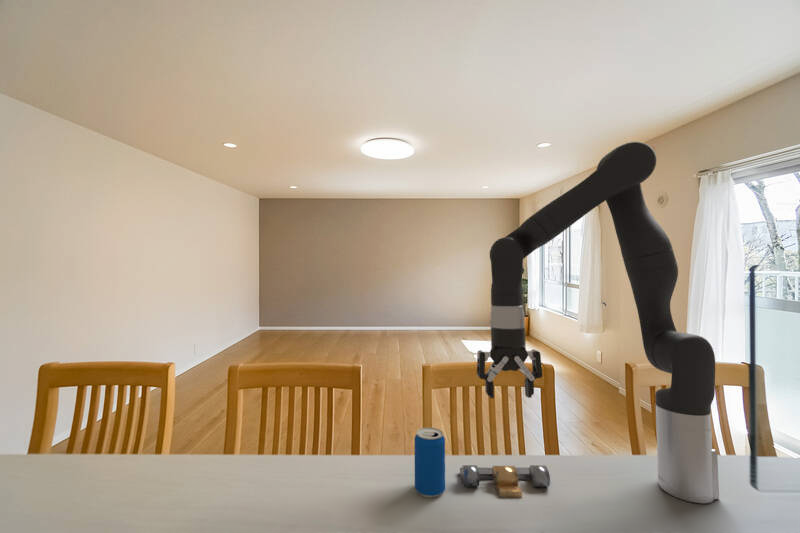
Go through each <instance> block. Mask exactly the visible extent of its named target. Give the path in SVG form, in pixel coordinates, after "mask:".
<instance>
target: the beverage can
mask: <svg viewBox="0 0 800 533" xmlns="http://www.w3.org/2000/svg"><path fill="white" fill-rule="evenodd" d="M414 489H415V491H417V493H419V495H421V496H422V497H425V498H430V499H431V498H437V497H439V496H440V495H441V494H444V492H445V491H446V439H445V436H444V432H443V431H442V430H441V429H440V428H439V429H438V428H436V427H421V428H420V429H419V428H418V430H417V431H416V435H415V436H414Z"/></svg>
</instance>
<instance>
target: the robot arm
mask: <svg viewBox="0 0 800 533" xmlns="http://www.w3.org/2000/svg"><path fill="white" fill-rule="evenodd" d="M656 166H657V155H656V152H655V150H654V149H653V147H651V146H650V145H648V144H647V143H645V142H640V141H630V142H626V143H623V144H620V145H618V146H617V147H614V149H612V150H611V151H610V152H608V153H607V154H605V155H604V156H603V157H602V158H601V159H600V161H599V162H598V164H597V167H596V170H595V171H594V172H592V173H591V174H589V175H588V176H587V177H585V179H583V180H582V181H581V182H579V183H578V184H577V185H575V186H574V187H572V188H571V189H569V190H568V191H566V192H564V193H563V194H561V195H560V196H558V197H556V198H555V199H554V200H551V201H550V202H549V203H548V204H546V205H545V206H543V207H541V209H538V210H537V211H536V212H535V213H534V214H532V215H530V216H529V217H528V218H527V219H526V220H524V221H523V222H522V223H521V225H519V227H517V228H516V229H514V230H513V231H512V232H510V233H509V234H507V235H506V236H504V237H501V238H499V239H497V240H495V242H493V244H492V245H491V247H490V250H489V260H490V267H491V268H490V269H491V280H492V281H491V282H492V283H491V289H490V299H491V300H490V304H491V306H490V321H489V322H490V323H489V324H490V344H491V348H490V351H483V350H478V351H477V358H476V361H477V362H476V376H478V378H479V379H481V380H483V381H484V382H485V386H484V387H485V393H486V395H487V396H488V397H489V398H490V399H494V398H495V395H494V394H495V393H494V388H495V386H494V379H495V377H496V376H497V375H499V373H500V372H501V371H503V372H507V371H514V372H516V371H518V370H519V371H520V372H521V373H522V374H523V375H524V377H525V378H524V394H525V397H526V398H529V399H531V398H532V397H533V396H534V394H535V387H534V386H535V380H536V379H541V378H542V377H543V369H542V359H541V357H542V356H541V352H540V351H538V350H536V349H534V348H533V349H531V350H527V347H526V344H527V343H526V317H525V310H524V300H523V299H524V297H523V296H524V293H523V285H522V284H523V282H522V281H523V271H524V269H523V268H524V267H523V266H524V259H525V258H526V257H528V256H529V255H531V254H532V253H533V252H534V251H536V250H537V249H539V248H540V247H542V246H545V245H546V244H548V243H549V242H550V241H552V240H554V238H556V237H557V236H559V235H561V234H562V233H563V232H564V231H566V230H567V229H568V228H570V227H571V226H572V225H574V224H575V223H577V221H579V220H580V219H582V218H583V217H584V216H586V215H587V214H589V213H590V212H591V211H592V210H594V209H595V208H597V207H598V206H600V205H601V204H602V203H604V202H606V204H607V207H608V209H609V211H610V214H611V217H612V221H613V226H614V230H615V234H616V236H617V237H616V238H617V241H618V244H619V247H620V252H621V256H622V260H623V264H624V267H625V271H626V274H627V277H628V279H629V283H630V287H631V290H632V295H633V300H634V302H635V307H636V310H637V314H638V321H639V325H640V332H641V340H642V345H643V349H644V353H645V355H646V356H645V357H646V358H647V361H648V362H649V364H651V366H653V367H654V368H656V369H657V370H659V371H662V372H664V373H668V374H671V381H670V387H666V388H661V389H658V390H656V391H655V393H654V394H655V425H656V426H655V429H656V449H657V450H656V452H657V453H656V454H657V478H658V479H657V481H658V486H659V488H661V490H663V491H664V492H666V493H667V494H669V495H671V496H672V497H675V498H677V499H681V500H683V501H687V502H690V503H691V502H692V503H695V504H711V503H713V502H714V501H715V500H720V485H719V484H720V483H719V462H718V452H717V450H716V449H715V448H713V439H712V438H713V437H712V436H713V434H712V418H711V417H712V415H711V413H712V412H711V411H712V410H711V406H712V404H713V401H714V398H715V393H716V392H715V391H716V356H715V352H714V348H713V347H712V344H711V343H710V342H709V341H708V340H707V339H706V338H705V337H703V336H701V335H698V334H693V333H686V332H680V331H677V329H676V326H675V324H674V320H673V315H672V311H671V300H672V297H673V294H674V290H675V288H676V286H677V285H676V284H677V281H678V277H679V266H678V263H677V260H676V256H675V253H674V249H673V245H672V242H671V240H670V238H669V237H668V235H667V233H666V232H665V230H664V229H663V227H662V226H661V225H660V224H659V223H658V221H657V220H656V219H655V217H654V216H653V214H652V213H651V212H650V210H649V209H648V206H647V205H646V201H645V198H644V193H643V190H642V183H643V182H645V181H646V180H647V179H648V178H649V177H650V176H651V175H652V174H653V172H654V170H655V168H656ZM528 357H529V360H531V365H532V371H531V370H529V368H528V366H527V365H526V364H525V362H526V360H527V358H528ZM489 358H490V359H491V360H492V363H491V364H490V366H489V369H488V370H487V371H486V362H487V361H489V360H488V359H489ZM485 371H486V372H485Z"/></svg>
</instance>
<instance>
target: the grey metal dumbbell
mask: <svg viewBox="0 0 800 533" xmlns="http://www.w3.org/2000/svg"><path fill="white" fill-rule="evenodd" d="M492 468H493V467H478V465H477V464H473V465H472V464H469V465H467V464H463V465H462V467H459V474H460V477H461V481H462V484H463V487H472V488H474V487H476V488H477V487H479V486H480V480H493V475H492ZM548 469H549V468H548V467H547V466H546V465H545V464H544V465H542V464H539V465H538V464H537V465H535V464H534V465H533V464H532V465H531V464H530V465H529V467H516V470H517V474H518V480H528V481H529V482H530V484H531V486H533V487H536V488H538V487H540V488H541V487H544V488H545V487H547V488H549V487H550V486H551V478H550V477H551V476H550V472H549V470H548Z"/></svg>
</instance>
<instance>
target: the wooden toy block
mask: <svg viewBox="0 0 800 533" xmlns="http://www.w3.org/2000/svg"><path fill="white" fill-rule="evenodd" d="M491 468H492V475H493V479H492V480H493V485H494V487H495V490H496V492H497V493H498V495H499V497H500V498H523V490H522V489H521V488H520V485H519V479H518V474H517V470H516V468H517V467H516V466H515V465H492V467H491Z"/></svg>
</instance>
